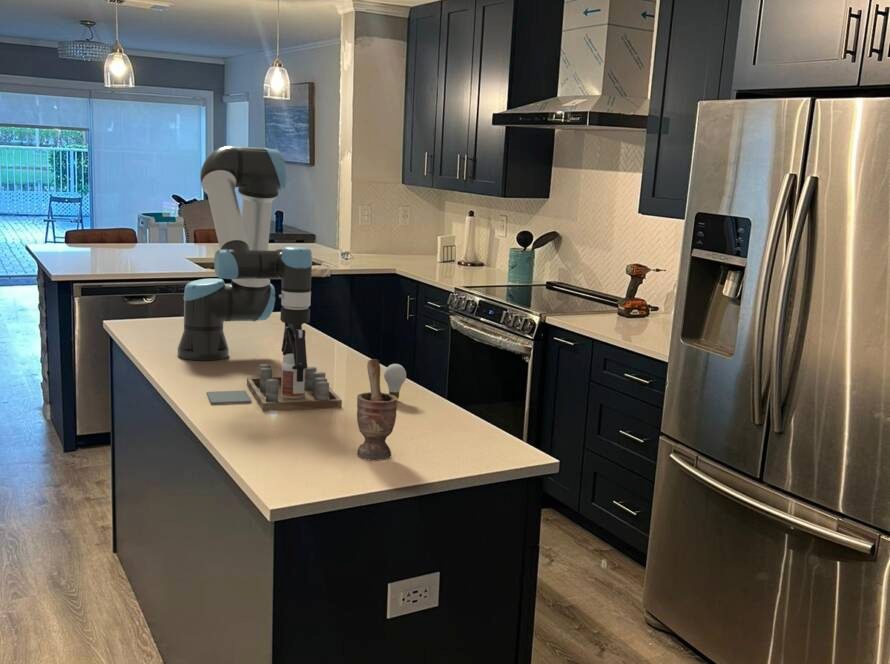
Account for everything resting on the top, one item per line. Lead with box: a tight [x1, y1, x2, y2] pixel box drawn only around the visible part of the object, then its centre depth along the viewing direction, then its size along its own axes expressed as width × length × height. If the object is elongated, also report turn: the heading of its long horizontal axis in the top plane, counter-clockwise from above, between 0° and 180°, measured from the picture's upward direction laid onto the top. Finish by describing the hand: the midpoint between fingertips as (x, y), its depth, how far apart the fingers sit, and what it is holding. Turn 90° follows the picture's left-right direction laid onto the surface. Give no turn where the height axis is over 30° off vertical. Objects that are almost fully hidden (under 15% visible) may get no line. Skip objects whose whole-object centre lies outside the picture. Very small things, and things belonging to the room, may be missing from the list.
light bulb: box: [383, 363, 407, 400], centre depth 232 cm, size 6×6×10 cm
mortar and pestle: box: [356, 358, 398, 461], centre depth 189 cm, size 12×9×20 cm
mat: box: [206, 390, 253, 406], centre depth 225 cm, size 10×10×1 cm
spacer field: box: [246, 363, 343, 412], centre depth 230 cm, size 25×20×6 cm
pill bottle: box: [280, 354, 306, 400], centre depth 230 cm, size 6×6×11 cm
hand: (293, 386), depth 230 cm, fingers open, 13 cm apart
